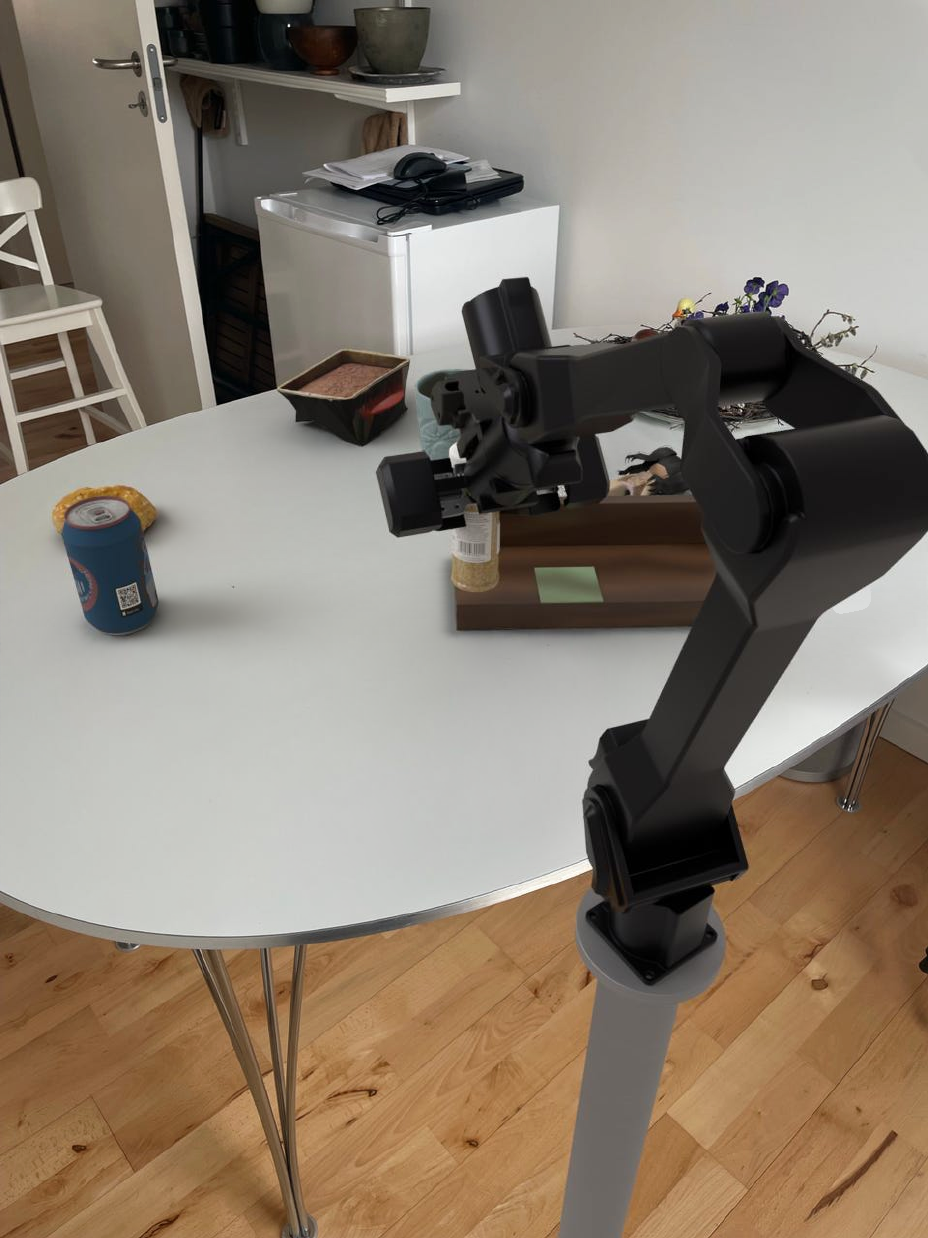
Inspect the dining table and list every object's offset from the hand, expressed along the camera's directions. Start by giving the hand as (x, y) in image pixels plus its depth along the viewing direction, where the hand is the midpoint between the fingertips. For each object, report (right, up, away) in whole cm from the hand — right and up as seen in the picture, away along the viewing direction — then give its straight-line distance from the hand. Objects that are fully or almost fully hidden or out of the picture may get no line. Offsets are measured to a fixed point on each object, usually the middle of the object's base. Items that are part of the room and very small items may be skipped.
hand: (470, 511), depth 84 cm
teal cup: (-1, +8, +32) cm, 33 cm away
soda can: (-34, -10, +8) cm, 36 cm away
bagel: (-41, 0, +21) cm, 46 cm away
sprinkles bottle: (0, -6, +3) cm, 7 cm away
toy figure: (+20, +4, +27) cm, 34 cm away
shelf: (+12, -7, +12) cm, 18 cm away
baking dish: (-16, +18, +46) cm, 52 cm away
